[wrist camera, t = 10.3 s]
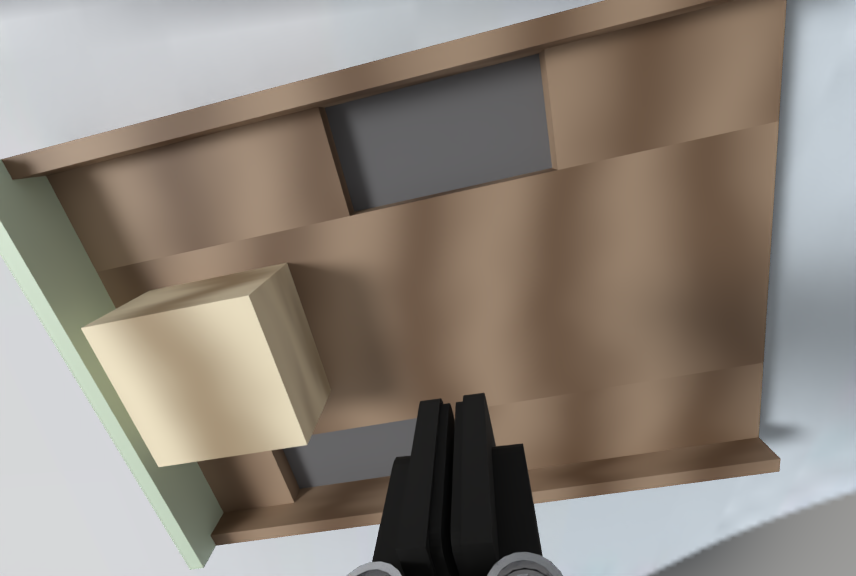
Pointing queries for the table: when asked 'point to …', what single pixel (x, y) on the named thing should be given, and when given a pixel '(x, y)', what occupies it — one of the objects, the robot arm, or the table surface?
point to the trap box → (487, 253)
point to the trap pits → (416, 177)
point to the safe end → (63, 319)
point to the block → (215, 366)
